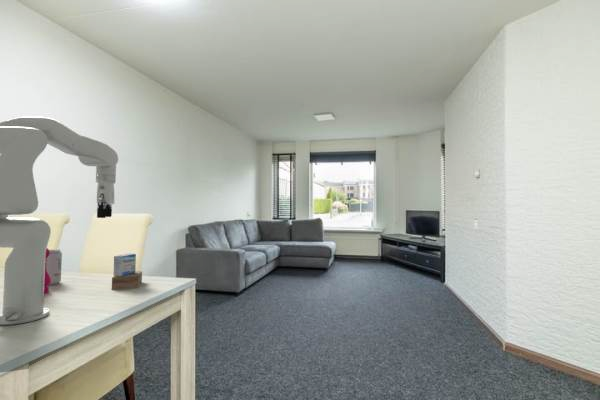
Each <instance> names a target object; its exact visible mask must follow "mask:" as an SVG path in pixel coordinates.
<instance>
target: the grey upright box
mask: <svg viewBox="0 0 600 400" xmlns="http://www.w3.org/2000/svg"><path fill="white" fill-rule="evenodd" d="M49 251H50V255H49V256H48V257H47V259H48V262H47V263H46V270H47V272H48V274H49V276H50V279H51V282H50V284H49V285H48V286H53V285H58V284H60V282H61V281H62V261H63V259H62V257H63V253H62V251H61V249H58V248H57V249H55V248H54V249H49Z"/></svg>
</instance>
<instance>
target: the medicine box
mask: <svg viewBox="0 0 600 400" xmlns="http://www.w3.org/2000/svg"><path fill="white" fill-rule="evenodd" d="M136 263H137V254H136V253H125V254H118V255H114V257H113V277H114V276H125V275H129V274H132V273H135V272H136V269H137V268H136V267H137V266H136Z"/></svg>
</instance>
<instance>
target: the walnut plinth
mask: <svg viewBox="0 0 600 400" xmlns="http://www.w3.org/2000/svg"><path fill="white" fill-rule="evenodd" d="M142 282H143V271H141V270H140V271H135V273H132V274H129V275H125V276H114V275H113V276H112V278H111V290H112V291H113V290H128V289H139V287H140V286H141V284H142Z"/></svg>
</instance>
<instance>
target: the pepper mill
mask: <svg viewBox="0 0 600 400" xmlns="http://www.w3.org/2000/svg"><path fill="white" fill-rule="evenodd" d="M49 250H50V249H48V247H47V249H46V258H45V281H44V295H45V294H48V293H49V291H50V287H49V286H50V285H49V284H50V282H51V279H50V276H49V274H48V272H47V270H46V263H47V262H48V259H47V257H48V256H49V255H50V251H49Z"/></svg>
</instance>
